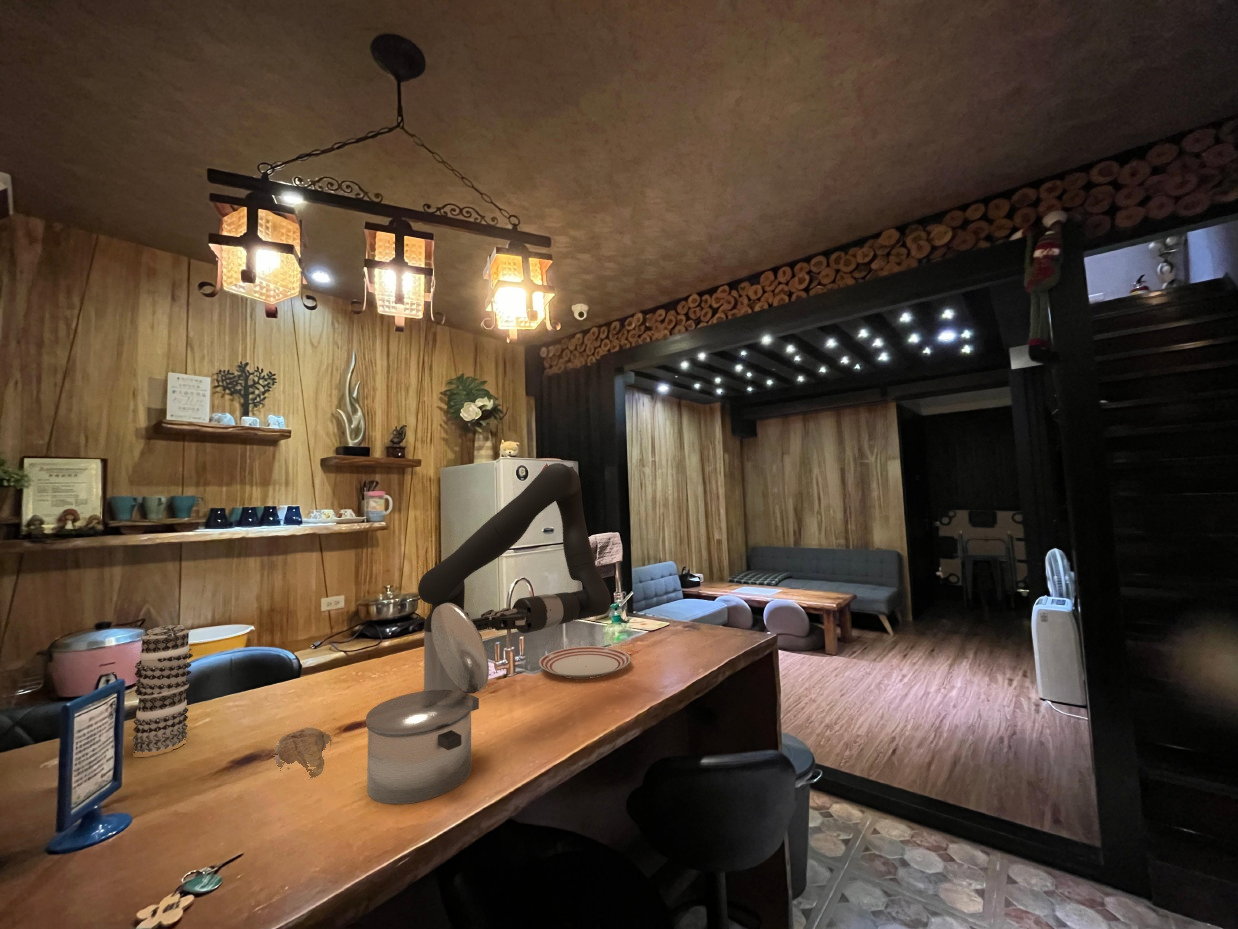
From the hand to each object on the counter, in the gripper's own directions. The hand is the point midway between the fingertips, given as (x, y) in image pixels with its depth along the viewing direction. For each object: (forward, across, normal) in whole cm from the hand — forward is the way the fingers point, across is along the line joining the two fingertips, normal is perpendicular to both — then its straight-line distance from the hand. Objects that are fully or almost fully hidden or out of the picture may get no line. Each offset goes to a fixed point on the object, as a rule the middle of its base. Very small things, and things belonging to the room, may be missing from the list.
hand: (469, 626), depth 100 cm
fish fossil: (+21, -28, +26) cm, 43 cm away
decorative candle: (+39, -56, +25) cm, 73 cm away
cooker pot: (+9, 0, +25) cm, 26 cm away
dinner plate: (-52, -22, +24) cm, 62 cm away
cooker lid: (+3, 0, +4) cm, 5 cm away
